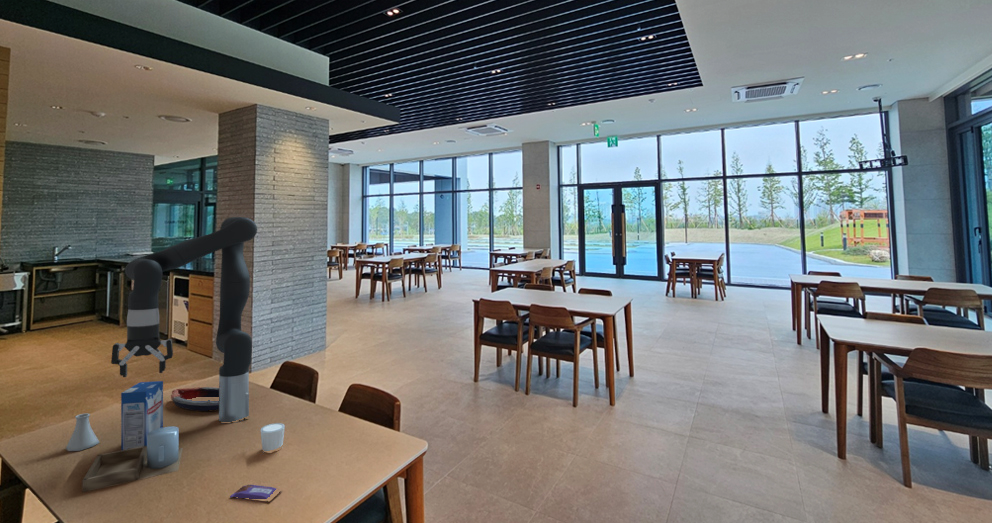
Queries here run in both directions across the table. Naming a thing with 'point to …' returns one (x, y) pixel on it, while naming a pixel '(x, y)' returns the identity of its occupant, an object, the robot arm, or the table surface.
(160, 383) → the milk carton
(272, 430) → the shot glass
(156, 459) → the pale blue rounded block
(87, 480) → the caddy
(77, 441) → the flask
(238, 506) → the table surface
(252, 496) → the snack package
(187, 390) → the dish
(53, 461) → the table surface
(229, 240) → the robot arm
